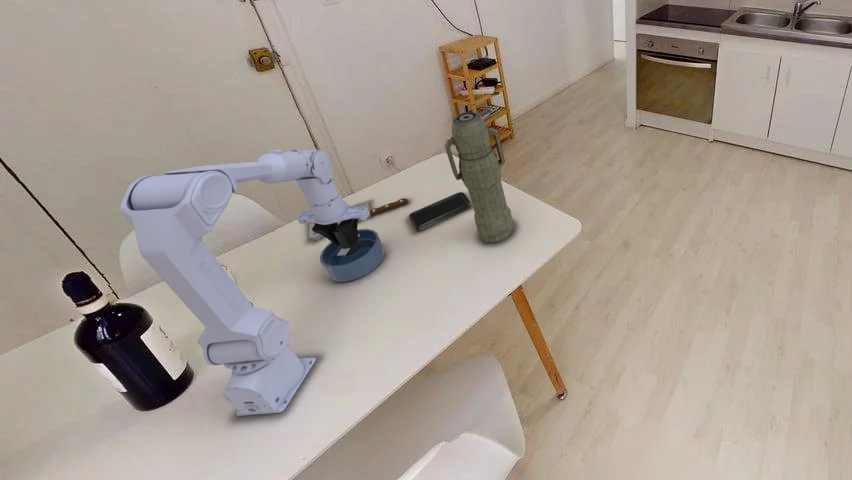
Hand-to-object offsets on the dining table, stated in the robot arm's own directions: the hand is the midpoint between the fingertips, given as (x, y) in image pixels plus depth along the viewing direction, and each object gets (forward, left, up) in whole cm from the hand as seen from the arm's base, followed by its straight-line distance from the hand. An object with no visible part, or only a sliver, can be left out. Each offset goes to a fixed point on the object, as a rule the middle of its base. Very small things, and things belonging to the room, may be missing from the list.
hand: (347, 242), depth 97 cm
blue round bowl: (0, 0, -7) cm, 7 cm away
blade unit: (0, 0, -2) cm, 2 cm away
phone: (+17, -14, -7) cm, 23 cm away
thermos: (+8, -32, -7) cm, 34 cm away
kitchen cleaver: (+18, +9, -7) cm, 21 cm away
